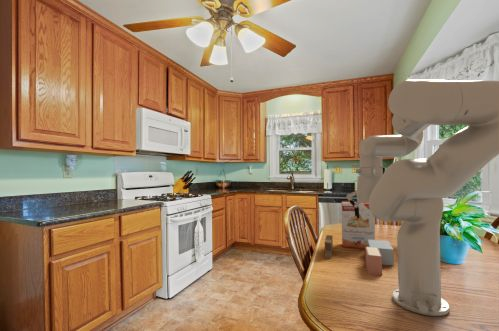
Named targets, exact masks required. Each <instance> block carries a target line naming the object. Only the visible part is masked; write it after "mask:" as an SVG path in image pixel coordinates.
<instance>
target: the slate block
mask: <svg viewBox="0 0 499 331" xmlns="http://www.w3.org/2000/svg"><path fill="white" fill-rule="evenodd" d="M368 247H374V248H378V249H379V251H380V253H381V256H382V265H385V266H395V258H394V257H395V254H394V252H395V251H394V250H395V249H394V248H393V247H392V245H391V243H390V241H389V240H381V239H378V240H377V239H375V240H369V239H368Z"/></svg>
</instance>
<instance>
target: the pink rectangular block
mask: <svg viewBox="0 0 499 331" xmlns="http://www.w3.org/2000/svg"><path fill="white" fill-rule="evenodd" d="M365 265H366V269H367V270H366V271H367V274H368V275H376V276H377V275H378V276H383V264H382V256H381V253H380V251H379V249H378V248H374V247H366V248H365Z"/></svg>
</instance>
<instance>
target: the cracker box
mask: <svg viewBox="0 0 499 331" xmlns="http://www.w3.org/2000/svg"><path fill="white" fill-rule="evenodd" d="M354 202H355V203H356V202H357V201H354ZM358 207H359V219H357V216H355V207H354V206H353V205H352V204H351V203H350V202H349V201H341V244H342V247H344V248H356V249H366V247H368V239H369V240H376V235H375V233H376V232H375V228H376V227H375V226H376V225H375V220H376V218H375V217H374V216H373V215H372V213H371V211H370V208H369V203H361V204H360V205H359V206H358Z"/></svg>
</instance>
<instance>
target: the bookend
mask: <svg viewBox="0 0 499 331" xmlns="http://www.w3.org/2000/svg"><path fill="white" fill-rule="evenodd" d="M333 244H334V243H333V235H329V234H327V235H325V239H324V258H325V259H332V256H333V249H334V247H333V246H334V245H333Z"/></svg>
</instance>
